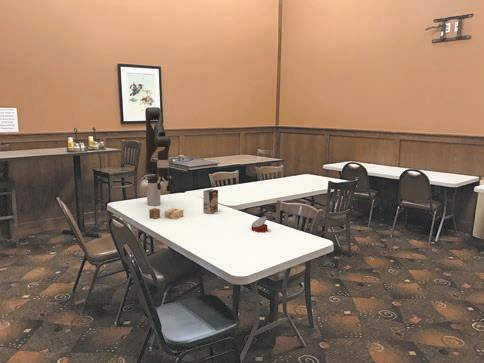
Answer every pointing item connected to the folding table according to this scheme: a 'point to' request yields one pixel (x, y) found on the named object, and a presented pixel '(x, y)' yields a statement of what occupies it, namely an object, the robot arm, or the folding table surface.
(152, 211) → the walnut block
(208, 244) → the folding table surface
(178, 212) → the oak block
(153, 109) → the robot arm
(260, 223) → the canned food
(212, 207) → the coffee box
